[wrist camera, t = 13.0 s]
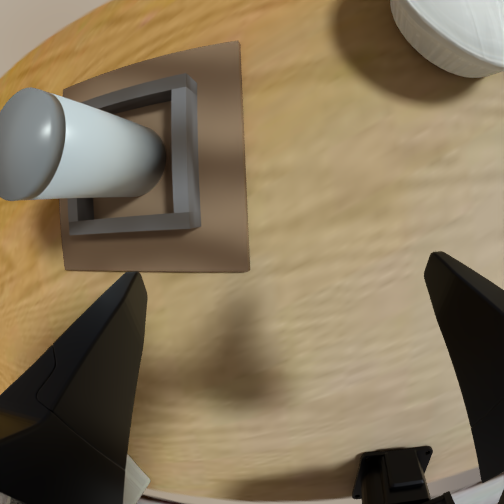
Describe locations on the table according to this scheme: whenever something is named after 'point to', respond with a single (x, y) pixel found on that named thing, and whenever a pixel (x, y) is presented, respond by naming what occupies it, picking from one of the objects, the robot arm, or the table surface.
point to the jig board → (170, 169)
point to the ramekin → (455, 33)
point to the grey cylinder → (73, 150)
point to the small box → (134, 482)
